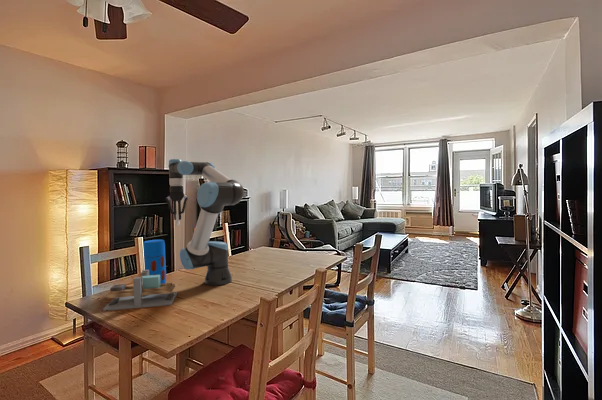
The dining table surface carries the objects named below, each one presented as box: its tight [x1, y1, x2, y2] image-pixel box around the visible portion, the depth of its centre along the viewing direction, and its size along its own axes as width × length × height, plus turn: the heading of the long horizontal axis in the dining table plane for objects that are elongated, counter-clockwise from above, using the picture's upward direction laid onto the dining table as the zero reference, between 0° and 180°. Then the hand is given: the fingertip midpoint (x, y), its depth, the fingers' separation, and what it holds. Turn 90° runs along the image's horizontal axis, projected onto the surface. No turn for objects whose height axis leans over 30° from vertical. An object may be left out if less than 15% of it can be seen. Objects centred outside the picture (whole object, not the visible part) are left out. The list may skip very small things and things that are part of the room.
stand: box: [102, 269, 178, 312], centre depth 155 cm, size 29×16×14 cm, turn 102°
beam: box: [105, 271, 176, 299], centre depth 155 cm, size 28×12×9 cm, turn 102°
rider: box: [142, 275, 161, 289], centre depth 156 cm, size 8×4×6 cm, turn 102°
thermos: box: [143, 239, 167, 284], centre depth 181 cm, size 11×11×25 cm
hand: (177, 225), depth 191 cm, fingers closed
